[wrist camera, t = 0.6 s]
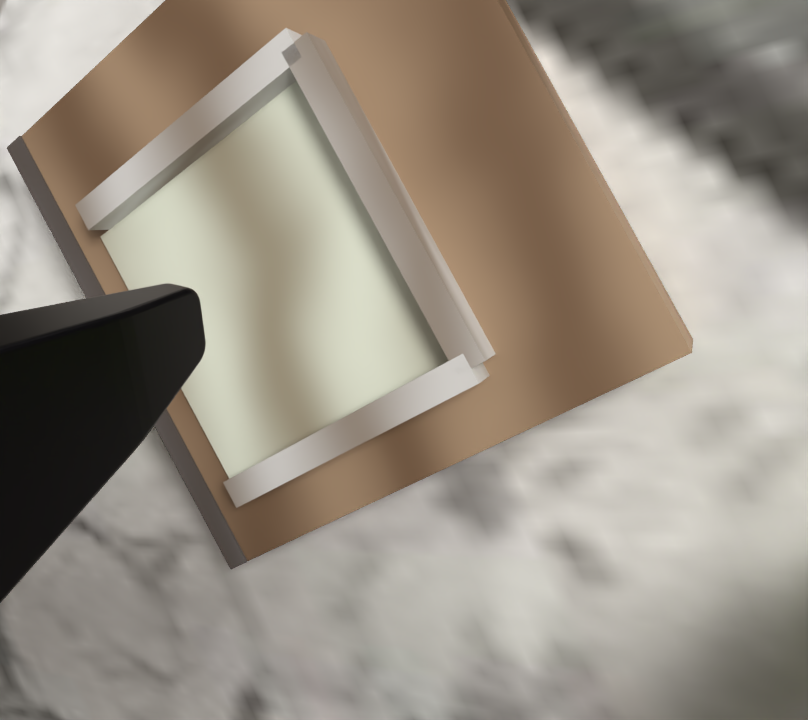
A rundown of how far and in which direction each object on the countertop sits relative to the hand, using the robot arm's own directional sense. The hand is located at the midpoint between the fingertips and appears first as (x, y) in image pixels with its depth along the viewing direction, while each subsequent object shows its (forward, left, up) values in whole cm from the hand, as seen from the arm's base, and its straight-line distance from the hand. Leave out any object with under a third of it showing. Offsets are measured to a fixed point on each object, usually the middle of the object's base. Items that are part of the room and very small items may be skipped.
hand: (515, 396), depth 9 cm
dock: (-8, +7, -16) cm, 19 cm away
